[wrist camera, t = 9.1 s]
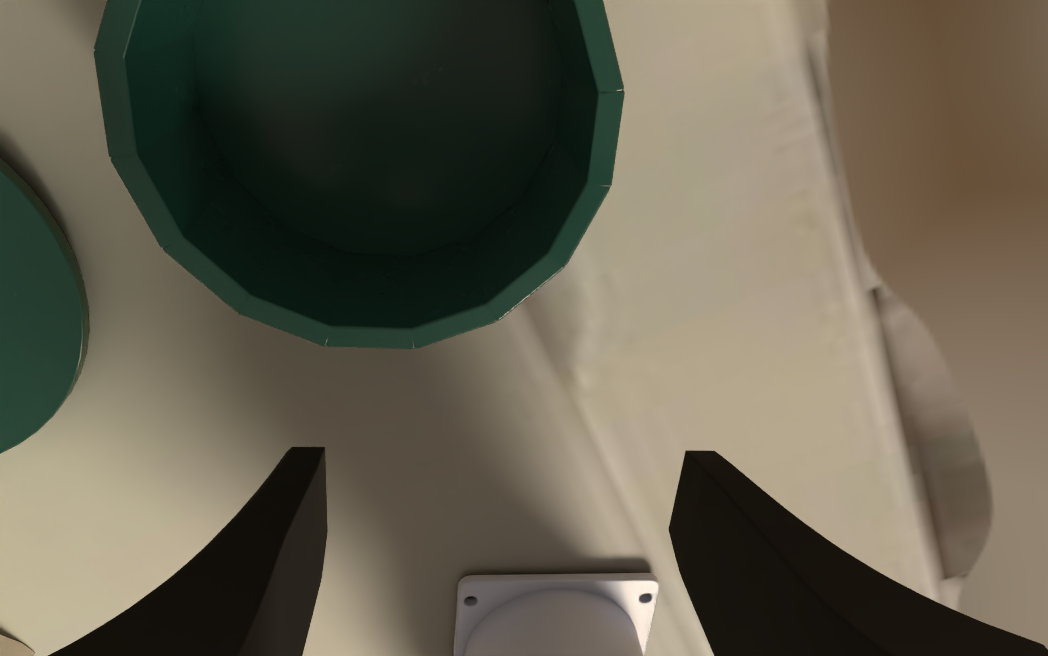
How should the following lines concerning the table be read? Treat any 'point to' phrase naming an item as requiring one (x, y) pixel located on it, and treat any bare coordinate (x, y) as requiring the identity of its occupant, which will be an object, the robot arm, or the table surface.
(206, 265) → the pot
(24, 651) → the cat figurine
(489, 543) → the table surface
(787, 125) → the table surface
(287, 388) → the table surface
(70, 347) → the lid
